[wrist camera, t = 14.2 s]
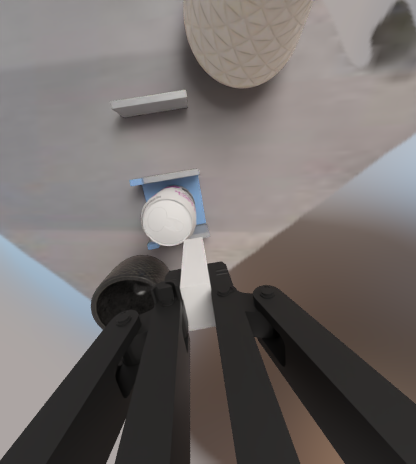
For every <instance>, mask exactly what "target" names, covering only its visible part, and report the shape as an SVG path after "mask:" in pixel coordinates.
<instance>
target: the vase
mask: <svg viewBox="0 0 416 464" xmlns="http://www.w3.org/2000/svg"><path fill="white" fill-rule="evenodd" d="M313 2H314V0H184V2H183V16H184V26H185V31H186V35H187V39H188V42H189V45H190V47H191V50H192V52H193V54H194V56H195V58H196V60H197V61H198V63H199V64H200V66H201V67H202V68H203V69H204V70H205V71H206V73H207V74H209V75H210V76H211V77H212V78H213V79H215V80H216V81H218V82H220V83H222V84H224V85H226V86H229V87H233V88H251V87H255V86H258V85H260V84H263V83H265V82H267V81H268V80H270V79H271V78H273V77H274V76H275V75H276V74H277V73H278V72H279V71H280V70H281V69H282V68H283V67H284V66H285V65H286V63H287V62H288V61H289V59H290V57H291V56H292V54H293V52H294V50H295V48H296V46H297V43H298V41H299V38H300V36H301V33H302V31H303V28H304V25H305V23H306V20H307V18H308V15H309V12H310V10H311V7H312V5H313Z"/></svg>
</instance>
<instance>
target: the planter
mask: <svg viewBox="0 0 416 464" xmlns="http://www.w3.org/2000/svg"><path fill="white" fill-rule="evenodd" d="M168 272H169V269H168V267H167V266H166V265H165V264H164V263H163V262H162V261H160V260H159V259H157V258H155V257H152V256H148V255H137V256H133V257H130V258H128V259H126V260H124V261H123V262H121V263H120V264H119V265H118V266H116V267H115V268H114V269H113V270H112V271H111V273H110V274H109V275H108V276H107V277H106V278H105V279H104V281H103V282H102V283H101V284H100V285H99V287H98V288H97V289H96V291H95V293H94V295H93V297H92V300H91V311H92V315H93V318H94V320H95V321H96V323H97V324H98V325H99V326H100V327H101V328H102V329H103V330H104V328H105V327H106V326H107V325H108V323H109V322H110V321H111V320H112V319H113V318H114V317H115V316H116V315H117V314H119V313H121V312H123V311H126V310H135V311H137V312H138V314H139V315H140V314H143V313H145V312H148V311H150V310H152V309H153V308H154V301H153V297H152V294H151V289H152V287H153V286H155V285H156V284H158V283H160V282H163V281H164V280H165V276H166V274H167V273H168Z"/></svg>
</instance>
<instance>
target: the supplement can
mask: <svg viewBox="0 0 416 464" xmlns="http://www.w3.org/2000/svg"><path fill="white" fill-rule="evenodd" d="M141 225H142V228H143V230H144V232H145V234H146V235H147V236H148V237H149V238H150V239H151V240H152V241H154V242H156V243H158V244H160V245H164V246H174V245H180V244H181V243H183V242H184V240H187V239H189V238H190V236H191V235H192V234H193V233H194V230H195V227H196V208H195V201H194V198H193V196H192V194H191V193H190V192H189V191H188V190H187V189H186V188H184V187H182V186H178V185H171V186H167V187H165V188H163V189H162V190H160V191H159V192H158V193H157V194H155V195H154V196H153V197H151V198H150V199H149V200H148V201H147V203H146V204H145V205H144V206H143V209H142V213H141Z"/></svg>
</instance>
